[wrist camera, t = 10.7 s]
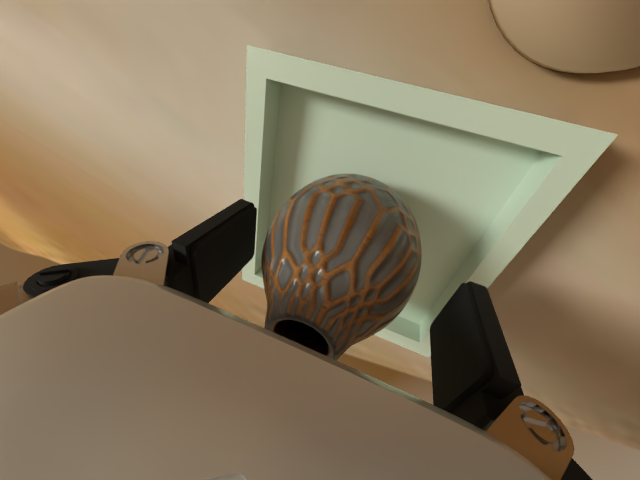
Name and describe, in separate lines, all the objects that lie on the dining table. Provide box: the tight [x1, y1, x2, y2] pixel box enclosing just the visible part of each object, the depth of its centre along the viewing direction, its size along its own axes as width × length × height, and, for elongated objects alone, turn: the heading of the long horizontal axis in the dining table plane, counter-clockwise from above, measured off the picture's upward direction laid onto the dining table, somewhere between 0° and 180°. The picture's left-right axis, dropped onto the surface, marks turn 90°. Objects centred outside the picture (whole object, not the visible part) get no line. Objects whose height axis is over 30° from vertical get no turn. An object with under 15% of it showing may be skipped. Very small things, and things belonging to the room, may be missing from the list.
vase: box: [261, 174, 422, 361], centre depth 11 cm, size 7×7×9 cm
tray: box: [242, 45, 618, 358], centre depth 14 cm, size 14×14×2 cm
